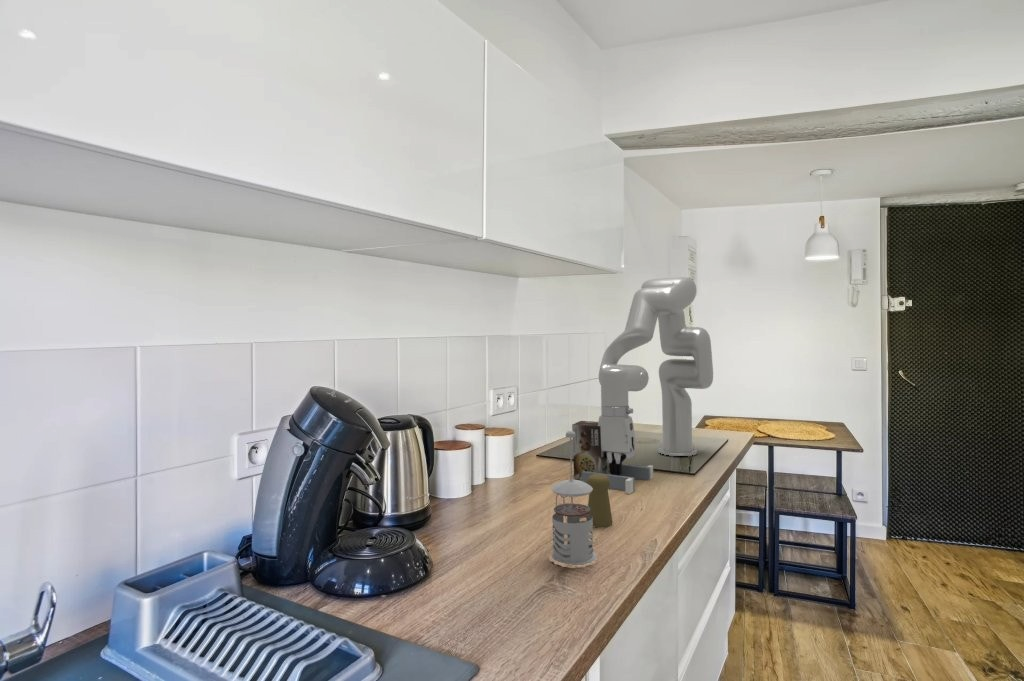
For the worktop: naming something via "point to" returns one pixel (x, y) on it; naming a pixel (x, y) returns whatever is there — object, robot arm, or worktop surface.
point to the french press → (572, 522)
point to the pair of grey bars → (625, 477)
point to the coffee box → (588, 449)
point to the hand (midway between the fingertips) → (615, 476)
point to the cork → (599, 500)
